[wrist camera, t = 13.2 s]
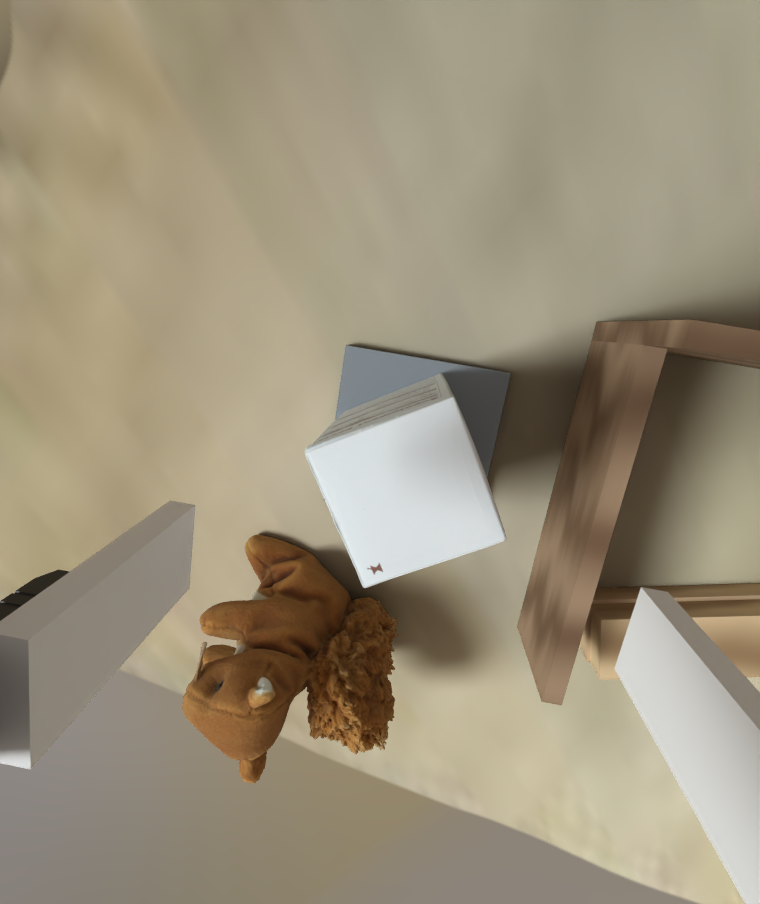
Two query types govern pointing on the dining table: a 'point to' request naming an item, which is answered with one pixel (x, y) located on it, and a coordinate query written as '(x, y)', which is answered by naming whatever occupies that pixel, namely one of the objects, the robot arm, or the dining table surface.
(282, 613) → the stuffed squirrel
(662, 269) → the dining table surface
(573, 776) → the dining table surface
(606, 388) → the walnut rack
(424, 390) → the supplement box
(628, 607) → the offcut stack
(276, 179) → the dining table surface
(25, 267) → the dining table surface
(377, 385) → the slate mat
